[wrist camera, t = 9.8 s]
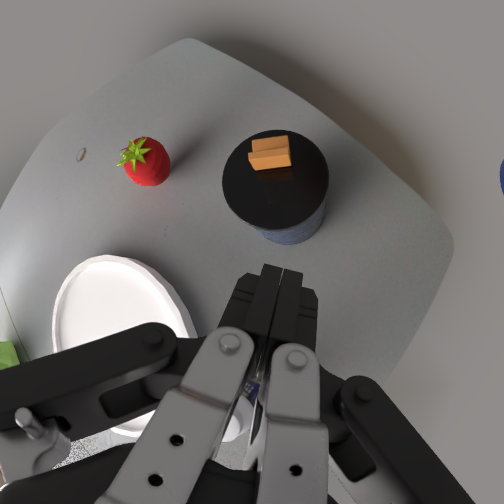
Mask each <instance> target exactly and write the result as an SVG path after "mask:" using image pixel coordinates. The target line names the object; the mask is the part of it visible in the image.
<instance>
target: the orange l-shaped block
mask: <svg viewBox="0 0 504 504" xmlns="http://www.w3.org/2000/svg"><path fill="white" fill-rule="evenodd" d="M252 149H253V152H251V153H248V155H249V161H250V163H251V164H252V166H253V168H254V169H255V170H261V169H269V168H277V167H285V166H291V156H290V148H289V140H288V136H287V135H286V136H278V137H271V138H264V139H257V140H252Z"/></svg>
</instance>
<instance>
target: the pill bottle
mask: <svg viewBox="0 0 504 504" xmlns="http://www.w3.org/2000/svg"><path fill="white" fill-rule="evenodd" d="M260 385H261V383H260V382H259V381H255V378H253V380H251V379H247V383H246V386H245V389H244V392H243V393H242V395H241V396H240V398H239V401H238V403H237V406H236V408H235V411H234V413H233V416H232V418H231V421H230V423H229V425H228V428H227V430H226V433H225V435H224V437H223V440H222V442H228V441H232V440H234V439H236V438H237V437H238V436H239V435H240V434H243V433H245V432H247V431H248V430H249V429H250V428H251V424H252V418H253V412H254V406H255V401H256V398H257V395H258V393H259V389H260Z"/></svg>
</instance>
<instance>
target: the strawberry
mask: <svg viewBox="0 0 504 504" xmlns="http://www.w3.org/2000/svg"><path fill="white" fill-rule="evenodd" d="M125 149H126V151H125V152H124V153H122V154H121V155H122V156H124V158H123V159H122V160H121V161H120V162H119V163H118V164H117V166H119V165H122V164H124V168H125V171H126V173H127V175H128V176H129V177H130V178H131V179H132V180H133V181H134V182H135V183H137V184H139V185H142V186H157V185H159V184H161V183H162V182H164V181H165V180H166V179H167V178H168V176H169V173H170V158H169V156H168V154H167V152H166V150H165V148H164V147H163V145H162V144H161V143H160V142H158V141H156V140H154V139H152V138H149V137H143V136H142V137H141V138H138V139H136V140H134V141H133V142H132V140H131V138H130V142H129V146H128V147H127V148H125ZM122 150H124V149H122ZM122 150H120V151H122Z"/></svg>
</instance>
